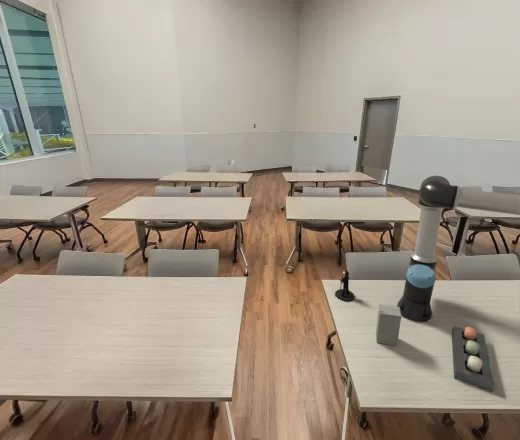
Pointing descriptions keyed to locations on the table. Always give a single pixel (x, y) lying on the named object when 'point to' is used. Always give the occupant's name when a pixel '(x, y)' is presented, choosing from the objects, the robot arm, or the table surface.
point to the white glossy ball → (474, 363)
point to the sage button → (472, 347)
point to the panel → (461, 359)
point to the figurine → (342, 293)
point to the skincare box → (388, 324)
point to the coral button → (470, 333)
